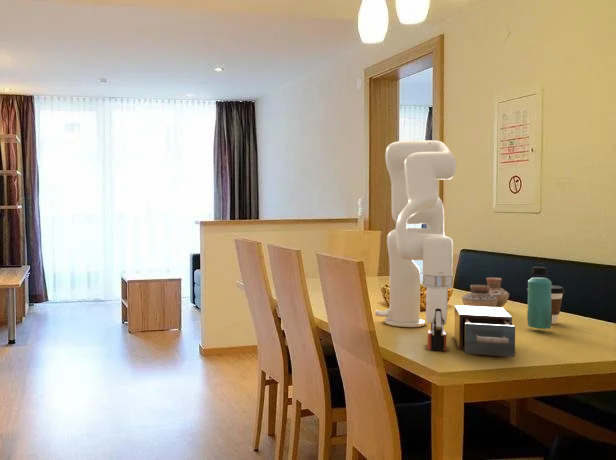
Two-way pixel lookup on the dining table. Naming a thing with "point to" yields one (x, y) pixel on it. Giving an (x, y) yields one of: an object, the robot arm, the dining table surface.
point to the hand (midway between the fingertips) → (436, 347)
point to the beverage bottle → (539, 300)
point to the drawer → (488, 337)
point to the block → (430, 339)
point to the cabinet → (475, 313)
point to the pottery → (486, 294)
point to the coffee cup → (556, 301)
